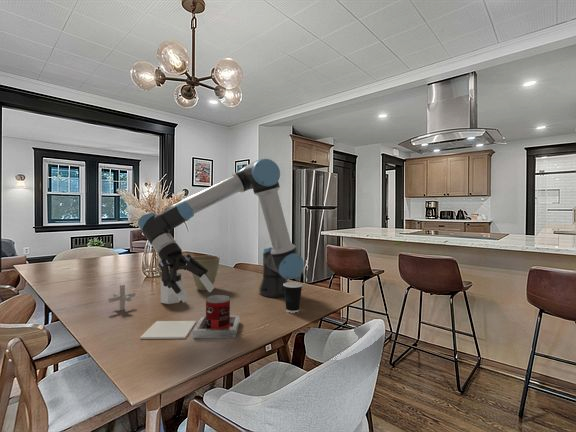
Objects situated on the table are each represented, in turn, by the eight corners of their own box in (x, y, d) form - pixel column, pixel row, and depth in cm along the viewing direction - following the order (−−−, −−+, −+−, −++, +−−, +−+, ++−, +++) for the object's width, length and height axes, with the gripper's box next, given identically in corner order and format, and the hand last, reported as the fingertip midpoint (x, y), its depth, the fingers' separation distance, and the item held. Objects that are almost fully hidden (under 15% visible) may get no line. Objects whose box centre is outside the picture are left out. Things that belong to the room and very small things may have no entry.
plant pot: (184, 288, 159) (184, 257, 159) (210, 283, 169) (211, 254, 169) (197, 294, 148) (198, 261, 148) (224, 289, 158) (225, 258, 158)
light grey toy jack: (116, 315, 117) (116, 289, 117) (102, 310, 122) (102, 285, 122) (141, 308, 126) (141, 284, 125) (127, 304, 131) (127, 280, 131)
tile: (195, 322, 111) (195, 320, 111) (185, 338, 97) (185, 336, 97) (156, 322, 110) (156, 321, 110) (139, 339, 96) (139, 337, 96)
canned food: (207, 325, 108) (208, 294, 108) (230, 325, 109) (231, 294, 108) (203, 334, 100) (203, 301, 100) (228, 334, 101) (228, 301, 101)
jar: (162, 305, 130) (162, 277, 130) (158, 300, 137) (158, 273, 137) (184, 302, 135) (184, 275, 135) (179, 297, 142) (179, 271, 142)
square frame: (239, 322, 112) (239, 315, 112) (235, 337, 98) (235, 330, 98) (202, 322, 111) (202, 315, 111) (192, 338, 97) (192, 330, 97)
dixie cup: (301, 308, 129) (302, 282, 129) (302, 314, 121) (303, 286, 121) (283, 307, 129) (283, 281, 129) (282, 314, 121) (282, 286, 121)
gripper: (185, 251, 124) (215, 292, 119) (132, 260, 102) (166, 311, 96) (196, 239, 122) (227, 280, 117) (144, 245, 99) (180, 297, 94)
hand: (200, 294), depth 106 cm, fingers open, 13 cm apart
